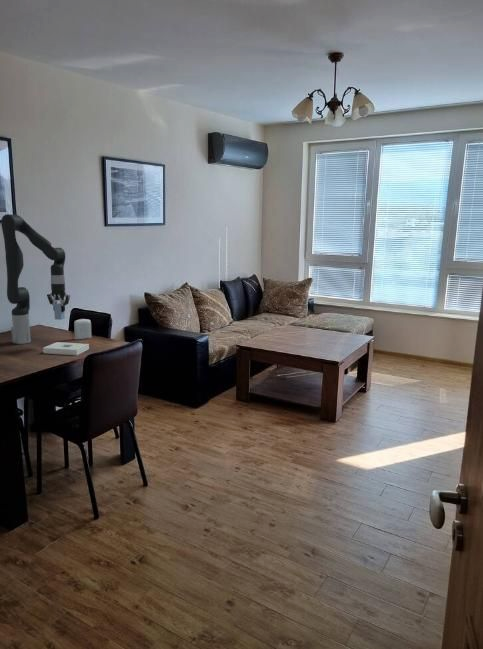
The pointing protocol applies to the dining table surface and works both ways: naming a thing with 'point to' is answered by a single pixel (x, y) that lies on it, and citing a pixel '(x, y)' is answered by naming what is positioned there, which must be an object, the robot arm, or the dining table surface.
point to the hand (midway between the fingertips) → (59, 311)
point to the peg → (58, 312)
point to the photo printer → (82, 329)
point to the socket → (66, 348)
